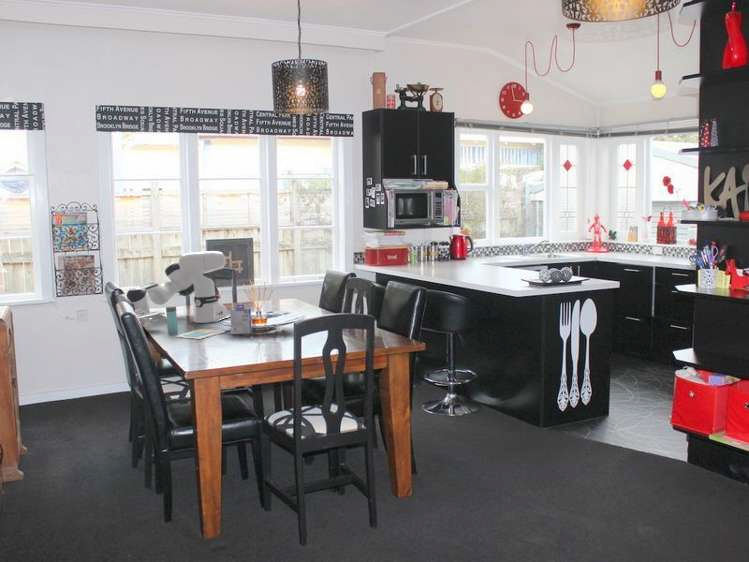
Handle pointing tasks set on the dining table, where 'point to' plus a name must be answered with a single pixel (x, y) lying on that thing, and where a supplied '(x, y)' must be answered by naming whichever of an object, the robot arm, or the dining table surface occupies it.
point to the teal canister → (171, 320)
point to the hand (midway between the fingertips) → (158, 318)
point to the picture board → (200, 334)
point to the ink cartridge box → (240, 320)
